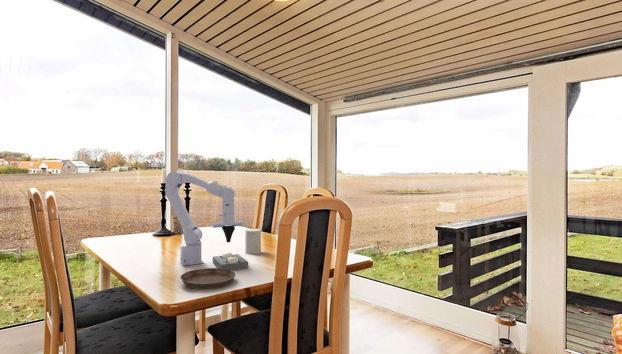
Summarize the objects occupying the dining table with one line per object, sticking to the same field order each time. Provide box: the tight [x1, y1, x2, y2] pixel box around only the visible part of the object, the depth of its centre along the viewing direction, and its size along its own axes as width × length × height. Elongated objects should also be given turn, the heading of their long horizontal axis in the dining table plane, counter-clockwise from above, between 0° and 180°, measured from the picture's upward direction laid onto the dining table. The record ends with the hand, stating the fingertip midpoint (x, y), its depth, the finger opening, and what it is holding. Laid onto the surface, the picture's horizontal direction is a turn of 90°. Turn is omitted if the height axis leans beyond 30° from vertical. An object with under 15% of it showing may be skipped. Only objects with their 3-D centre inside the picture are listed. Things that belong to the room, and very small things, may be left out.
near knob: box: [228, 257, 238, 264], centre depth 166 cm, size 4×4×4 cm
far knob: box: [221, 251, 233, 259], centre depth 175 cm, size 4×4×4 cm
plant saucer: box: [180, 267, 236, 290], centre depth 145 cm, size 21×21×3 cm
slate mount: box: [212, 253, 249, 271], centre depth 170 cm, size 12×16×3 cm
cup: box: [244, 228, 262, 255], centre depth 197 cm, size 8×8×12 cm
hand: (228, 242), depth 176 cm, fingers closed
